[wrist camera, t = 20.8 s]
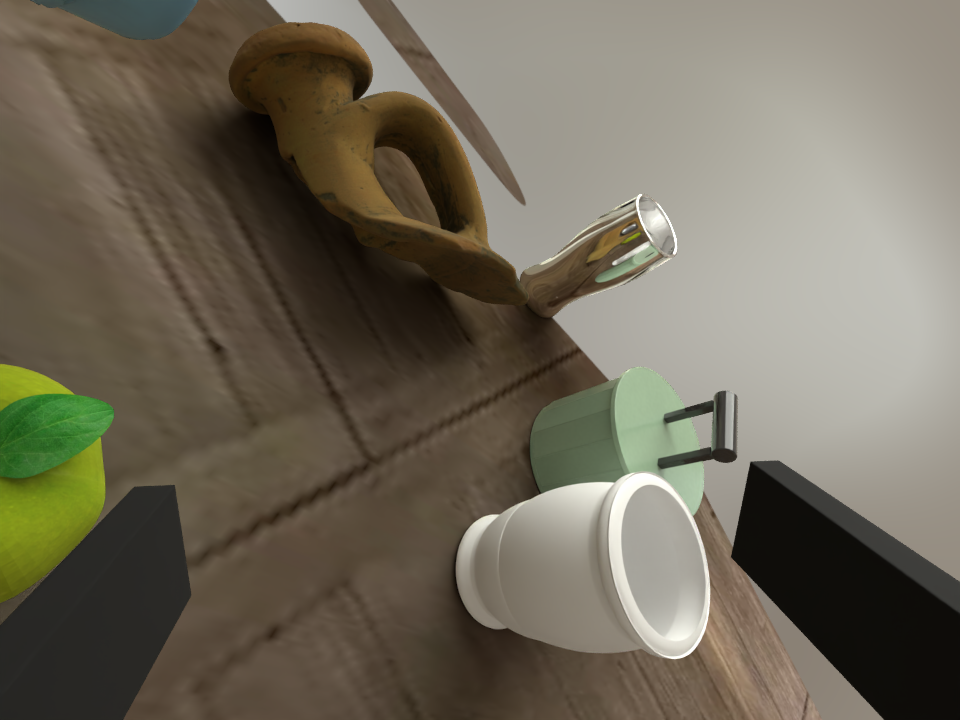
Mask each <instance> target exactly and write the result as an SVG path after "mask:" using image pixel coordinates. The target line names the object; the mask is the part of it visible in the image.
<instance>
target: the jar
mask: <svg viewBox="0 0 960 720" xmlns="http://www.w3.org/2000/svg"><path fill="white" fill-rule="evenodd" d="M456 581H457V586H458V590H459V594H460V596H461V599H462V601H463V603H464V605H465V607H466V609H467V610H468V612H469V613H470V614H471V615H472V617H473V618H474V619H475V620H477V621H478V622H479V623H481V624H482V625H484V626H486V627H489V628H492V629H505V628H509V629H510V630H512V631H514V632H516V633H518V634H520V635H523V636H525V637H528V638H531V639H535V640H539V641H542V642H545V643H548V644H551V645H554V646H557V647H561V648H564V649H569V650H574V651H580V652H588V653H617V652H627V651H633V650H638V649H643V650H644V651H646V652H647V653H649V654H651V655H654V656H657V657H661V658H672V659H677V658H682V657H685V656H687V655H688V654H690V653H691V652H692V651H693V650H694V649H695V648H696V647H697V645H698V644H699V642H700V640H701V638H702V636H703V634H704V631H705V628H706V624H707V620H708V614H709V606H710V580H709V571H708V564H707V559H706V554H705V550H704V546H703V543H702V539H701V536H700V533H699V530H698V528H697V525H696V523H695V521H694V518H693V516H692V514H691V512H690V510H689V508H688V507H687V505H686V503H685V502H684V500H683V499H682V497H681V496H680V495H679V493H678V492H677V491H676V490H675V488H674V487H673V486H672V485H671V484H670V483H669V482H667V481H666V480H665V479H664V478H662V477H661V476H659V475H657V474H655V473H652V472H647V471H641V472H636V473H630V474H627V475H625V476H623V477H621V478H620V479H618V480H617V481H616V482H615V483H612V482H592V483H581V484H574V485H568V486H564V487H560V488H556V489H553V490H550V491H547V492H545V493H542V494H540V495H538V496H536V497H534V498H532V499H530V500H527V501H524V502H521V503H519V504H517V505H515V506H513V507H511V508H509V509H507V510H506V511H504V512H503V513H501V514H500V515H488V516H484V517H482V518H480V519H478V520H477V521H475V522H474V523H473V524H472V525H471V526H470V527H469V528H468V530H467V531H466V533H465V534H464V536H463V538H462V540H461V542H460V545H459V548H458V552H457V557H456Z"/></svg>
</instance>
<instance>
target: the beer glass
mask: <svg viewBox="0 0 960 720" xmlns="http://www.w3.org/2000/svg"><path fill="white" fill-rule="evenodd" d="M676 253H677V240H676V236H675V233H674V230H673V228H672V225H671V223H670V221H669V219H668V218H667V216H666V214H665V212H664V211H663V209H662V208H661V207H660V206H659V204H658V203H657V202H656V201H655V200H654V199H652V198H651V197H650V196H648V195H646V194H640V195H638V196H637V197H635V198H633V199H632V200H630V201H628V202H626V203H624V204H622V205H620V206H618V207H616V208H614V209H613V210H611V211H609V212H608V213H606V214H604V215H602V216H601V217H600V218H598V219H597V220H595V221H594V222H592V223H591V224H590V225H589V226H587V227H586V228H585V229H584V230H582V231H581V232H580V233H579V234H578V235H577V236H576V237H574V238H573V239H572V240H571V241H570V242H569V243H568V244H567V245H566V246H565V247H564V248H563V249H561V250H560V251H559V252H558V253H557V254H556V255H554V256H553V257H551V258H550V259H548V260H547V261H544V262H542V263H540V264H537V265H534V266H531V267H529V268H527V269H525V270H524V271H523V272H522V274H521V277H520V283H521V284H522V285H523V287H524V288H525V290H526V291H527V292H528V294H529V299H528V301H527V305H528V306H529V307H530V309H531V310H532V311H533V312H534V313H536V314H537V315H539V316H541V317H543V318H550V317H553V316H554V315H555V314H556V313H558V312H559V311H560V310H561V309H563V308H564V307H565V306H567V305H568V304H570V303H571V302H573V301H576V300H578V299H580V298H583V297H586V296H590V295H593V294H597V293H600V292H603V291H607V290H610V289H613V288H615V287H618V286H621V285H624V284H626V283H628V282H630V281H632V280H634V279H637V278H639V277H641V276H642V275H644V274H646V273H648V272H649V271H651V270H653V269H654V268H656V267H658V266H659V265H661V264H662V263H664V262H665V261H667V260H669V259H671V258H673V257H675V255H676Z"/></svg>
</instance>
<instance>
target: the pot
mask: <svg viewBox="0 0 960 720" xmlns="http://www.w3.org/2000/svg"><path fill="white" fill-rule="evenodd" d="M617 379H618V378H617ZM617 379H614V380H611V381H608V382H606V383H603V384H600V385H597V386H594V387H592V388H589V389H586V390H583V391H581V392H578V393H575V394H572V395H570V396H567V397H564V398H561V399H558V400H556V401H553V402H552V403H551V404H549V405H547V406H546V407H544V408H543V409H542V410H541V411H540V413H539V414H538V416H537V417H536V419H535V422H534V424H533V427H532V431H531V437H530V458H531V465H532V469H533V474H534V477H535V480H536V483H537V485H538V488H539V490H540V492H541V494H542V493H545V492H547V491H550V490H553V489H556V488H560V487H564V486H568V485H574V484H581V483H592V482H612V483H615V482H616V481H617V480H618V479H620V478H621V477H623V476H625V473H624V471H623V469H622V466H621V464H620V461H619V458H618V455H617V452H616V448H615V445H614V440H613V435H612V429H611V420H610V405H611V397H612V392H613V388H614V385H615V383H616V381H617Z"/></svg>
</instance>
